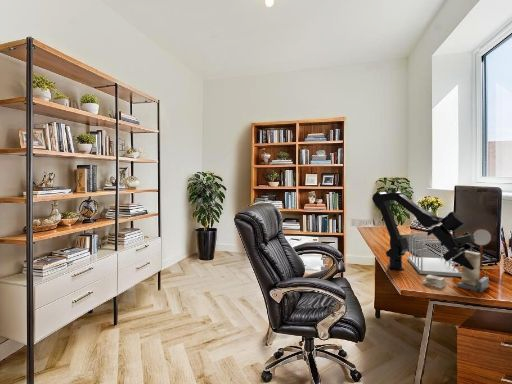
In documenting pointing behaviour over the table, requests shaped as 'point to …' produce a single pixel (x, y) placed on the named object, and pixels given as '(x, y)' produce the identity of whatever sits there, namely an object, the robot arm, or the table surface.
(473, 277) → the cream upright block
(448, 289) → the table surface
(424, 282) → the offcut stack
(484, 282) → the rack
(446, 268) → the file sorter
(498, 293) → the table surface
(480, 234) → the magnifying glass
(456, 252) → the robot arm
